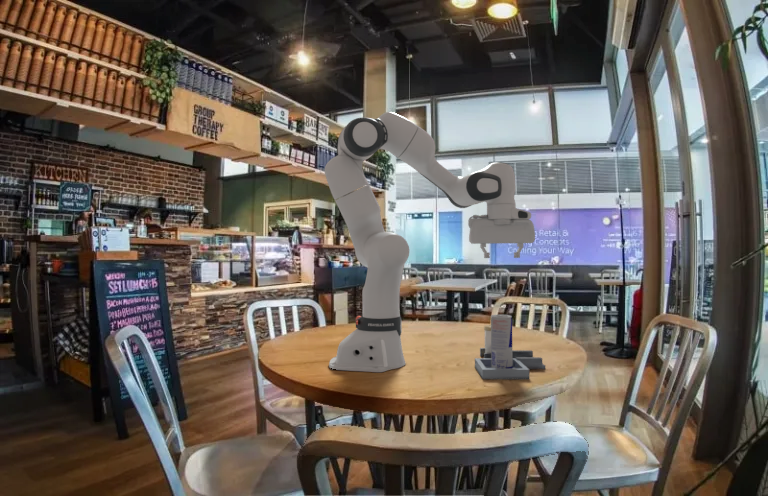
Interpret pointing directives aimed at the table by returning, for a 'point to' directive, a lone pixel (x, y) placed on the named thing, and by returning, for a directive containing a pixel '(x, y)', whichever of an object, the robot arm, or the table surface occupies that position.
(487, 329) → the cylinder
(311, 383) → the table surface
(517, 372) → the tray
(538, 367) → the grey stepped base
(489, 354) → the clip
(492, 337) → the beverage can
